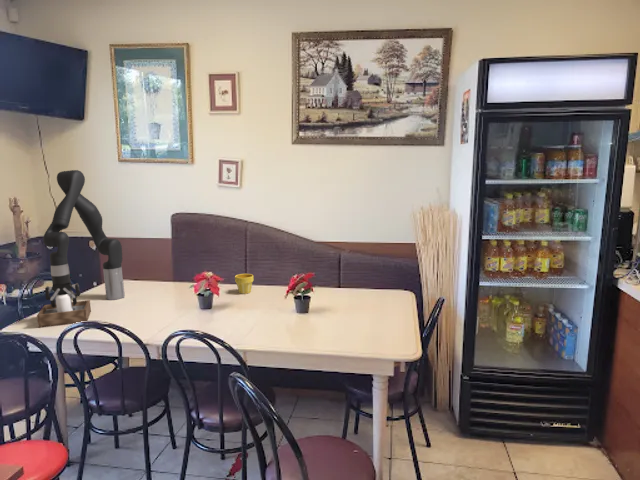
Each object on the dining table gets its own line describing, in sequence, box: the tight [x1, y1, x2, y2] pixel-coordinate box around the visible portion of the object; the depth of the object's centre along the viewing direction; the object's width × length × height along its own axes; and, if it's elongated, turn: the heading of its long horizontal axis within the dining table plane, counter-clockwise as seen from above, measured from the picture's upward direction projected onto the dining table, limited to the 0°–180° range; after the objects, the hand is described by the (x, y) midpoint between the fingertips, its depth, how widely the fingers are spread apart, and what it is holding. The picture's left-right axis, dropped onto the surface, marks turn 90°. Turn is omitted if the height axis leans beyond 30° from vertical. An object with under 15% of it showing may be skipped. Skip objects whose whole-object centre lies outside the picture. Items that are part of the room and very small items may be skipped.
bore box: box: [36, 299, 92, 329], centre depth 217 cm, size 20×16×6 cm
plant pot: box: [234, 273, 254, 295], centre depth 256 cm, size 10×10×10 cm
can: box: [54, 293, 73, 313], centre depth 216 cm, size 6×6×12 cm
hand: (64, 306), depth 216 cm, fingers open, 8 cm apart
